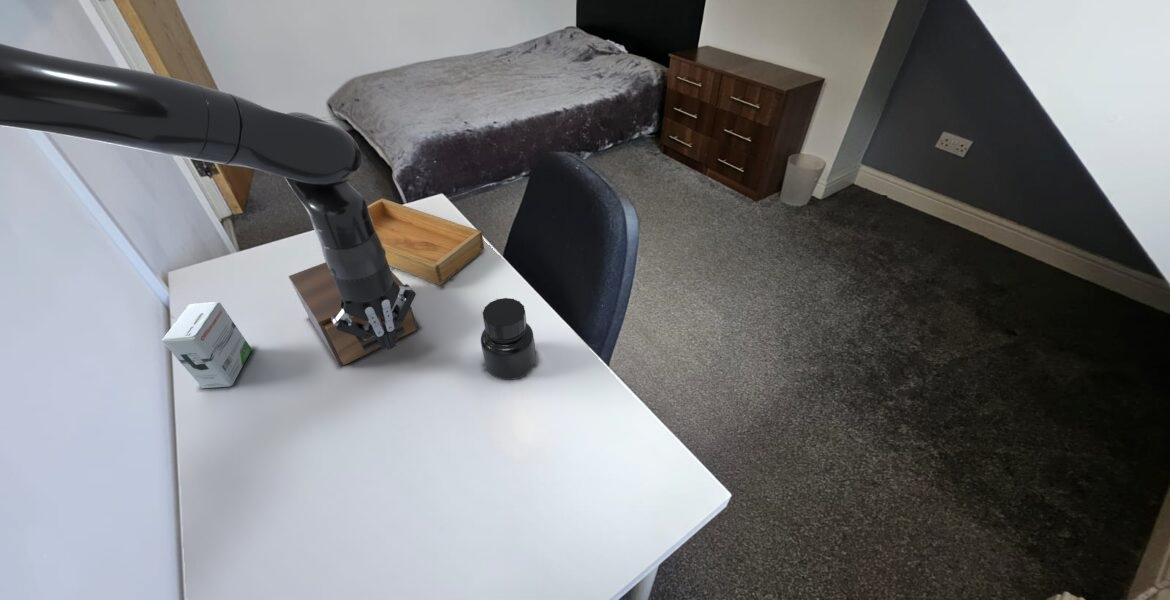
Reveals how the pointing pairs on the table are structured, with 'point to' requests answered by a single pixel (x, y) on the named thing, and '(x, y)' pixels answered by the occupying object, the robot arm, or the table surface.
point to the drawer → (362, 339)
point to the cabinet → (322, 299)
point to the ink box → (208, 344)
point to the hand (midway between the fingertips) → (389, 345)
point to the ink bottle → (507, 339)
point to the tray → (423, 241)
